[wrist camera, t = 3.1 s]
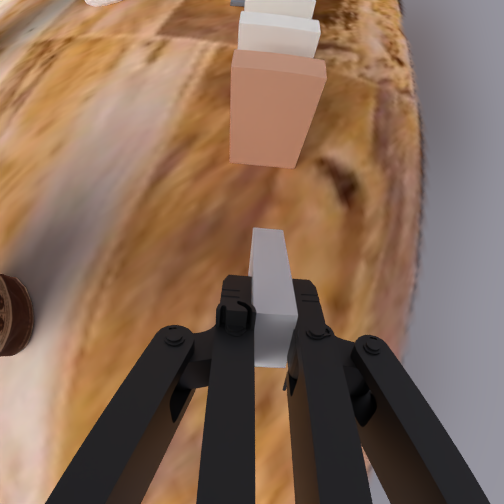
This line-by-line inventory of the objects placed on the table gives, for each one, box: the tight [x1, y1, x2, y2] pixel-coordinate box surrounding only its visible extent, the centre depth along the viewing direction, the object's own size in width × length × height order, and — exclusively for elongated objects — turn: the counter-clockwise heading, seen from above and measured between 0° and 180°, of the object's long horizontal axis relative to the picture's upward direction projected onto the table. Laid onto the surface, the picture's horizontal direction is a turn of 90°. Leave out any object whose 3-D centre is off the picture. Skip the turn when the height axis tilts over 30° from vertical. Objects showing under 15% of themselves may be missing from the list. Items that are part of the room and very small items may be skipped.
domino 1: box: [230, 49, 327, 169], centre depth 20 cm, size 2×5×10 cm, turn 86°
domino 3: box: [244, 0, 316, 19], centre depth 22 cm, size 2×5×10 cm, turn 86°
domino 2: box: [238, 11, 321, 58], centre depth 21 cm, size 2×5×10 cm, turn 86°
